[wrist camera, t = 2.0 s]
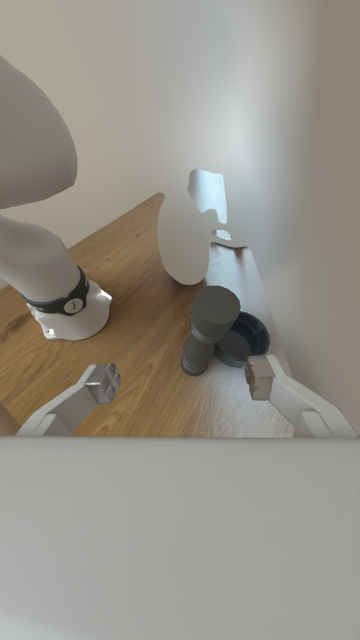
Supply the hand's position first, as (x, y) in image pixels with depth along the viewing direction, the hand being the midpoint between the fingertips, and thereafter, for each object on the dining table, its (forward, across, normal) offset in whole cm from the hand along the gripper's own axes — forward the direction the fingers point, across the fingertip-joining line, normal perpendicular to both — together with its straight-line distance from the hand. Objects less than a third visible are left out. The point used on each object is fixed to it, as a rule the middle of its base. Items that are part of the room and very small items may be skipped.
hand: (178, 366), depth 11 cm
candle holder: (+23, +2, +23) cm, 33 cm away
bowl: (+29, -9, +23) cm, 38 cm away
